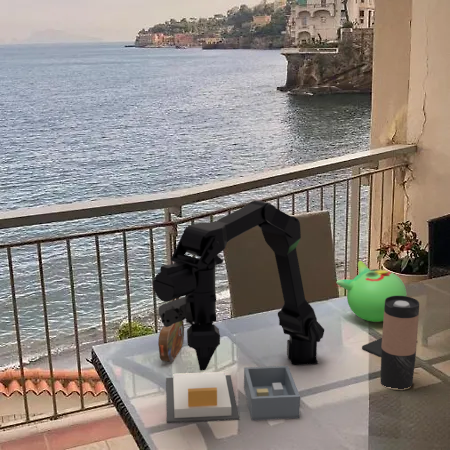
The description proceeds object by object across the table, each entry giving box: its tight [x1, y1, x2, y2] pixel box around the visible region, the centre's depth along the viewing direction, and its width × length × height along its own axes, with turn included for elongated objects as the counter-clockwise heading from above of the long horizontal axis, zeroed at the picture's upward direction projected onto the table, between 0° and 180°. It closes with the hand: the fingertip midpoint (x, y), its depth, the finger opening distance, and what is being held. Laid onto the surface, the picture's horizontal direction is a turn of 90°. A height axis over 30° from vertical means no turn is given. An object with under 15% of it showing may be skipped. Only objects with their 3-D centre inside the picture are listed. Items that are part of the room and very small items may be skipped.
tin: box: [157, 320, 185, 363], centre depth 174 cm, size 15×3×8 cm, turn 168°
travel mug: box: [380, 295, 420, 389], centre depth 157 cm, size 8×8×20 cm
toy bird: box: [336, 260, 407, 323], centre depth 195 cm, size 18×17×15 cm
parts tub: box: [243, 365, 301, 421], centre depth 151 cm, size 10×14×5 cm
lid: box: [172, 371, 231, 418], centre depth 152 cm, size 12×16×6 cm
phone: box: [361, 337, 382, 358], centre depth 180 cm, size 7×1×15 cm
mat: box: [165, 374, 240, 424], centre depth 153 cm, size 15×19×1 cm
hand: (201, 359), depth 144 cm, fingers open, 9 cm apart
